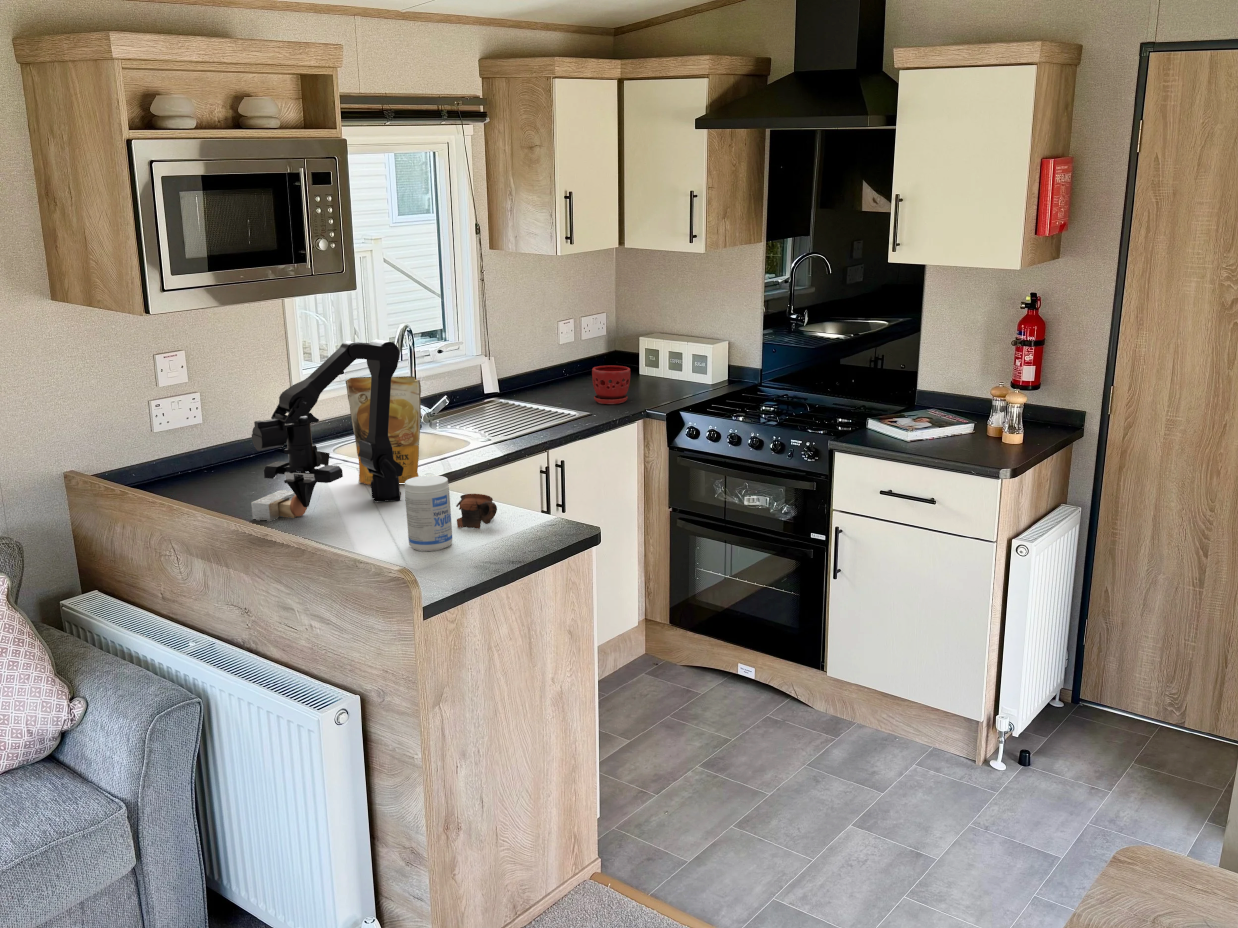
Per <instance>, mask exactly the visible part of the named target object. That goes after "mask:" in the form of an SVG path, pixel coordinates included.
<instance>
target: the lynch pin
mask: <svg viewBox="0 0 1238 928" xmlns="http://www.w3.org/2000/svg"><path fill="white" fill-rule="evenodd" d="M307 508H308V507H303V505H302V504H301V502H300V500H299V499H298V497H297V496H296V495H295V496H294V497H293V498H292V500H283V501H280V502H278V511H279V516H283V517H282V518H289V517H291V518H290V519H295V518H298V517H302V516H304V515H305V513H306V512H307Z"/></svg>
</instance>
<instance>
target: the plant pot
mask: <svg viewBox="0 0 1238 928" xmlns="http://www.w3.org/2000/svg"><path fill="white" fill-rule="evenodd" d="M591 375H592V376H591V377H592V379H591V381H592V385H593V389H594V392H595V394H596V395H594V396H593V399H594V401H595V402H596V403H598V404H599V405H600V404H601V405H619V404H623V403H625V402H626V401H627V400H628V395H627V393H628V391H629V387H630V383H631V368H630V367H627V366H625V365H624V366H623V365H599V366H594V367H592V369H591Z"/></svg>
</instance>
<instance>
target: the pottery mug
mask: <svg viewBox="0 0 1238 928" xmlns="http://www.w3.org/2000/svg"><path fill="white" fill-rule="evenodd" d="M455 507H457V508H458V510H460V511H461V517H459V518H456V524H457V529H462V528H467V529H477V530H480V529H481V524H482V523H483V524H484V525H488V524H490V523H491V521H492V519H494V518H495V516H496V514H497V511H498V507H497V505H496V503H495V502H494V499H493V497H491V496H490V495H487V494H482V493H466V494H462V495H460V500H459V502H457V503H456V505H455Z"/></svg>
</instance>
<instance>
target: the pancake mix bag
mask: <svg viewBox="0 0 1238 928" xmlns="http://www.w3.org/2000/svg"><path fill="white" fill-rule="evenodd" d="M344 382H345V385H346V392H347V400H348V404H349V412H350V418H351V425H352V430H353V434H354V440H355V448H356V454H357V458H358V469H359V470H358V481H357V482H358V483H360V484H364V485H368V486H371V480H373V474H372V473H369V471H368V469H367V468H366V467H365V466H364V465H363V464H362V463H361V460H360V457H358V454H359V450H360V447H359V441H360V440H361V441H365V439H366V437H367V436H368V432H369V414H370V395H371V376H359V377H358V376H357V377H350V378H349V379H347V380H345V381H344ZM421 394H422V386H421V380H420V379H416V376H410V375H408V376H392V378H391V392H390V410H389V428H388V437H389V440H390V442H391V445H392V448H393V458H394V460H395V461H396V462H397V463H399V464H400V465H401V466H402V467H403V468H404V469H403V473H402V476H399V483H405V481H406V480H408V479H410V478H414V477H419V476H420V475H419V473H418V471H419V459H420V441H421V440H420V438H421V437H420V436H421V435H420V434H421V419H422V411H421V404H422V403H421V400H422V399H421Z"/></svg>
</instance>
